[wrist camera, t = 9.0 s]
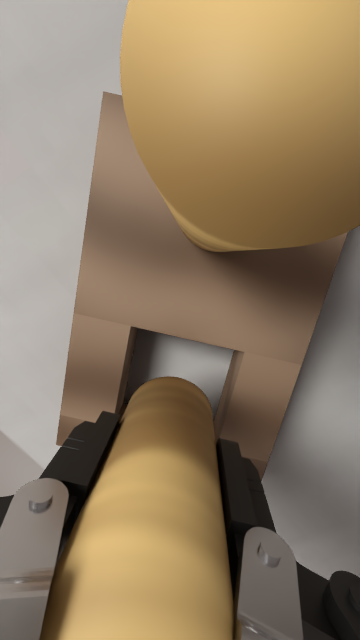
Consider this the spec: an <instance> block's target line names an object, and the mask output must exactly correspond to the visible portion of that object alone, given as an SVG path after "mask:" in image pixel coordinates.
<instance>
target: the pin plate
mask: <svg viewBox="0 0 360 640" xmlns="http://www.w3.org/2000/svg"><path fill="white" fill-rule="evenodd" d="M120 74H121V89H122V96H121V95H117V94H112V93H108V92H103V98H102V106H101V113H100V121H99V128H98V136H97V143H96V151H95V158H94V166H93V173H92V181H91V188H90V195H89V203H88V210H87V218H86V225H85V233H84V240H83V248H82V255H81V263H80V270H79V278H78V285H77V292H76V300H75V307H74V315H73V322H72V330H71V337H70V345H69V352H68V360H67V367H66V375H65V382H64V389H63V397H62V404H61V412H60V419H59V427H58V434H57V442H56V445H59V446H62V445H63V443H64V442H65V440H66V439H67V438H68V436H69V435H70V433H71V432H72V430H73V429H74V427H76V426H78V425H79V424H81V423H82V422H84V421H89V422H93V423H95V422H96V421H97V419H98V417H99V416H100V414H101V412H102V411H106V412H111V413H115V414H119V415H121V419H122V417H123V415H124V413H125V410H126V408H127V406H128V405H127V404H123V401H124V396H125V391H126V386H127V381H128V375H129V370H130V365H131V360H132V355H133V349H134V344H135V339H136V334H137V329H138V328H141V329H146V330H150V331H154V332H159V333H163V334H168V335H172V336H176V337H181V338H185V339H189V340H194V341H198V342H203V343H207V344H211V345H216V346H220V347H225V348H229V349H233V350H234V352H233V356H232V360H231V363H230V367H229V370H228V374H227V377H226V381H225V384H224V388H223V391H222V395H221V398H220V402H219V406H218V409H217V413H216V416H215V420H214V423H213V424H214V433H215V442H216V443H217V440H218V439H219V438H222V439H226V440H231V441H235V442H238V444H239V448H240V452H241V456H242V457H243V458H248V459H250V460H251V462H252V463H253V464H254V466H255V467H256V468H257V470H258V472H259V476H260V479H261V481H262V478H263V475H264V472H265V469H266V466H267V463H268V460H269V458H270V455H271V452H272V449H273V446H274V443H275V440H276V438H277V435H278V432H279V429H280V426H281V423H282V420H283V417H284V415H285V412H286V409H287V406H288V403H289V400H290V397H291V394H292V392H293V389H294V386H295V383H296V380H297V377H298V374H299V371H300V369H301V366H302V363H303V360H304V357H305V354H306V351H307V348H308V346H309V343H310V340H311V337H312V334H313V331H314V328H315V325H316V323H317V320H318V317H319V314H320V311H321V308H322V305H323V302H324V300H325V297H326V294H327V291H328V288H329V285H330V282H331V279H332V277H333V274H334V271H335V268H336V265H337V262H338V259H339V256H340V254H341V251H342V248H343V245H344V242H345V239H346V236H347V233H348V231H350V230H352V229H354V228H356V227H358V226H360V0H129V2H128V6H127V11H126V16H125V21H124V26H123V31H122V42H121V54H120ZM120 421H121V420H120Z"/></svg>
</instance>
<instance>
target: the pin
mask: <svg viewBox="0 0 360 640" xmlns="http://www.w3.org/2000/svg"><path fill="white" fill-rule="evenodd" d="M40 640H234V602H233V593H232V584H231V575H230V566H229V557H228V549H227V540H226V531H225V522H224V513H223V504H222V495H221V486H220V477H219V468H218V460H217V451H216V442H215V433H214V424H213V415H212V409H211V405H210V402H209V400H208V398H207V397H206V395H205V394H204V393H203V391H202V390H201V389H200V388H198V387H197V386H196V385H195V384H193V383H191V382H189V381H187V380H185V379H182V378H178V377H159V378H155V379H152V380H150V381H148V382H146V383H144V384H143V385H141V386H140V387H139V388H138V389H137V390H136V391H135V392H134V394H133V395H132V397H131V399H130V401H129V404H128V406H127V408H126V410H125V413H124V415H123V417H122V419H121V421H120V424H119V426H118V429H117V431H116V433H115V435H114V438H113V440H112V442H111V444H110V446H109V449H108V451H107V453H106V455H105V458H104V460H103V462H102V464H101V467H100V469H99V471H98V473H97V476H96V478H95V480H94V482H93V485H92V487H91V489H90V491H89V494H88V496H87V498H86V500H85V503H84V505H83V506H82V509H81V511H80V513H79V515H78V517H77V520H76V522H75V524H74V526H73V529H72V531H71V533H70V535H69V538H68V540H67V542H66V544H65V546H64V549H63V551H62V553H61V555H60V558H59V560H58V562H57V564H56V567H55V571H54V577H53V581H52V586H51V590H50V595H49V600H48V605H47V609H46V614H45V619H44V624H43V629H42V633H41V638H40Z"/></svg>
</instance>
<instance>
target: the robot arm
mask: <svg viewBox="0 0 360 640" xmlns="http://www.w3.org/2000/svg"><path fill="white" fill-rule="evenodd" d="M120 420H121V415H119V414H115V413H111V412H106V411H102V412H101V414H100V416H99V417H98V419H97V421H96V422H95V423H93V422H89V421H84V422H82V423H81V424H79V425H78V426H76V427H74V429H73V430H72V432H71V433H70V435H69V436H68V438H67V439H66V440H65V442H64V443H63V445H62V447H60V449H59V450H58V452H57V453H56V455H55V456H54V457H53V459H52V460H51V462H50V463H49V465H48V466H47V467H46V469H45V470H44V472H43V473H42V475H41V476H40V478H39V479H37V480H33V481H31V482H29V483H27V484H25V485H24V486H22V487H21V488H20V489H19V490H18V491H17V492H16V494H15V495H11V496H6V497H0V640H40V638H41V633H42V629H43V624H44V619H45V614H46V609H47V605H48V600H49V595H50V590H51V586H52V581H53V577H54V571H55V567H56V564H57V562H58V560H59V558H60V555H61V553H62V551H63V549H64V546H65V544H66V542H67V540H68V538H69V535H70V533H71V531H72V529H73V526H74V524H75V522H76V520H77V517H78V515H79V513H80V511H81V509H82V506H83V505H84V503H85V500H86V498H87V496H88V494H89V491H90V489H91V487H92V485H93V482H94V480H95V478H96V476H97V473H98V471H99V469H100V467H101V464H102V462H103V460H104V458H105V455H106V453H107V451H108V449H109V446H110V444H111V442H112V440H113V438H114V435H115V433H116V431H117V429H118V426H119V424H120ZM216 451H217V460H218V468H219V477H220V486H221V495H222V504H223V513H224V522H225V531H226V540H227V549H228V557H229V566H230V575H231V584H232V593H233V602H234V640H360V578H359V577H358V576H356V575H354V574H352V573H349V572H346V571H337V572H335V573H333V574H332V576H331V578H330V580H327V579H325V578H323V577H321V576H319V575H318V574H316V573H314V572H312V571H310V570H309V569H307V568H305V567H304V566H302V565H300V564H299V563H298V562H297V561H296V560H295V557H294V554H293V552H292V550H291V549H290V547H289V545H288V544H287V543H286V542H285V541H284V540H283V539H282V538H281V537H280V536H279V535H278V534H276V530H275V527H274V523H273V520H272V517H271V513H270V510H269V506H268V503H267V500H266V496H265V495H264V489H263V486H262V484H261V479H260V476H259V472H258V470H257V468H256V467H255V466H254V464H253V463H252V462H251V460H250V459H248V458H243V457H242V456H241V452H240V448H239V444H238V442H235V441H231V440H226V439H222V438H219V439H218V440H217V443H216Z"/></svg>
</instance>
